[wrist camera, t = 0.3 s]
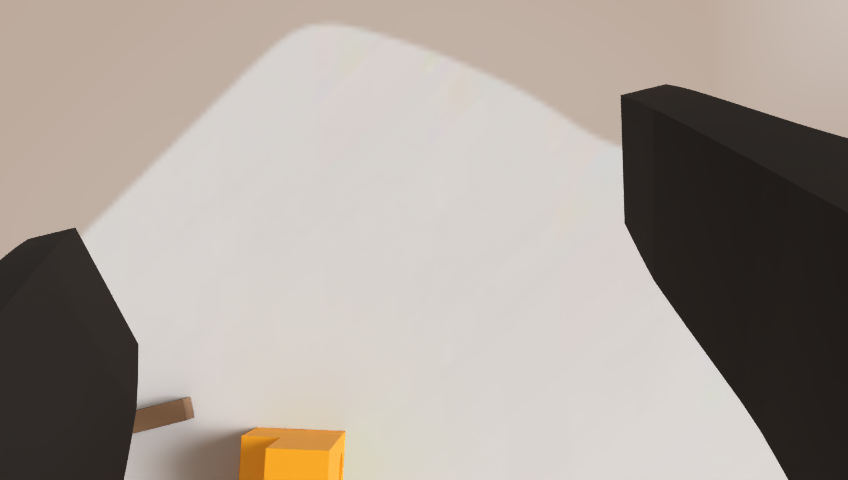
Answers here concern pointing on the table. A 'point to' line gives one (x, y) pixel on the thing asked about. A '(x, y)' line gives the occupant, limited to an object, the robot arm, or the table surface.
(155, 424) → the bay
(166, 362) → the table surface
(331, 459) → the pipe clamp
